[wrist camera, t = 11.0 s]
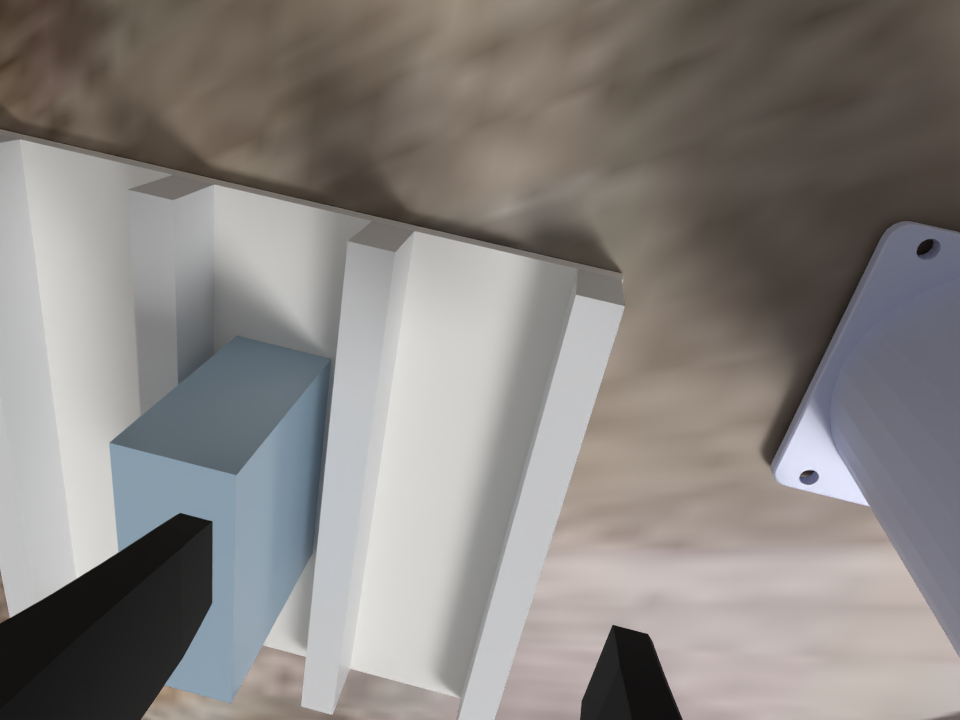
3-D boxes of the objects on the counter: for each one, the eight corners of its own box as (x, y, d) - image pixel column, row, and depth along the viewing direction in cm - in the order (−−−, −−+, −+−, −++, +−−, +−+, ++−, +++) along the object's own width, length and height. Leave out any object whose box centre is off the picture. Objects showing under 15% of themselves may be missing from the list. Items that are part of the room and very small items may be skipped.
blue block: (331, 358, 20) (236, 475, 15) (312, 553, 24) (231, 703, 18) (236, 335, 20) (108, 442, 15) (232, 532, 24) (128, 675, 18)
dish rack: (622, 273, 18) (627, 306, 16) (493, 695, 26) (484, 756, 24) (-8, 127, 19) (-88, 139, 17) (58, 578, 27) (10, 627, 25)
